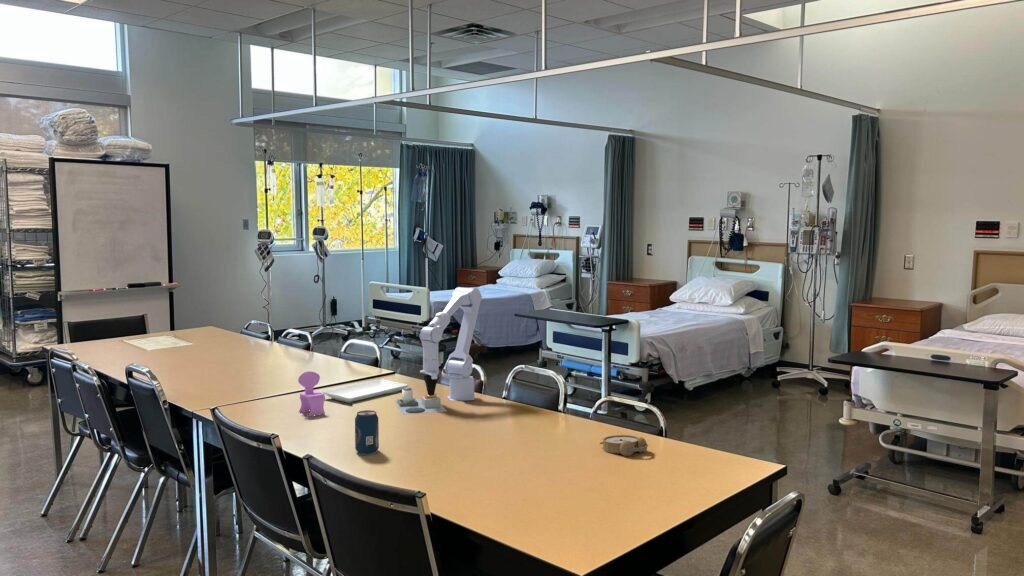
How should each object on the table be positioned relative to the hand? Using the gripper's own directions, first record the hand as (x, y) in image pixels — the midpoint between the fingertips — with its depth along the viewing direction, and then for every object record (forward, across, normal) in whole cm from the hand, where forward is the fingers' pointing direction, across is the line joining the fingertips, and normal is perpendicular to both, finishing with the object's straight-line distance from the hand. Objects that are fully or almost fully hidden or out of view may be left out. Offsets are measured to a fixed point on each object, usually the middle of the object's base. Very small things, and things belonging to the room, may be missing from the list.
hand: (430, 394), depth 278 cm
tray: (+5, -27, -21) cm, 34 cm away
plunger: (+4, 0, 0) cm, 4 cm away
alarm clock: (+5, +70, +46) cm, 84 cm away
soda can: (+5, +49, -29) cm, 57 cm away
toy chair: (+5, -3, -43) cm, 43 cm away
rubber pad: (+4, +6, -7) cm, 10 cm away
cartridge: (+4, -5, -8) cm, 10 cm away
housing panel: (+5, -1, -4) cm, 6 cm away
